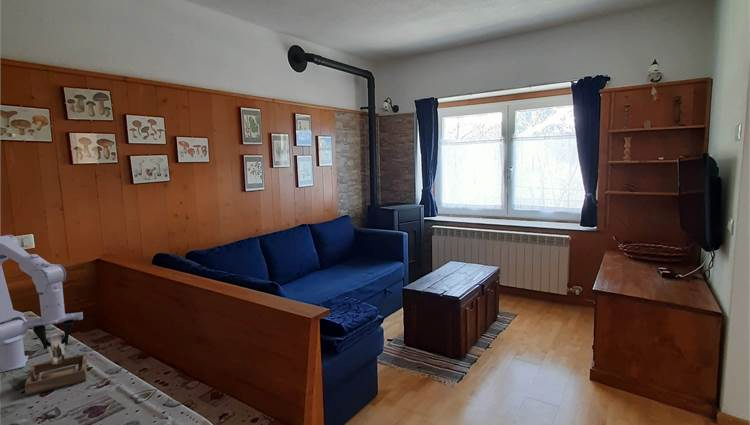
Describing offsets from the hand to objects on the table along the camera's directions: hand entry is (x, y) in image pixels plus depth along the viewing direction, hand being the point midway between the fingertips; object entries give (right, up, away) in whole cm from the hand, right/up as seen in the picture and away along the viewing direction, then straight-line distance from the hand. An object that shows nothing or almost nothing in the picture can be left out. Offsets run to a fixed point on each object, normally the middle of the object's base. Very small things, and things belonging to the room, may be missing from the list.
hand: (56, 345), depth 123 cm
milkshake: (-1, -6, +2) cm, 6 cm away
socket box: (+1, -10, -1) cm, 10 cm away
